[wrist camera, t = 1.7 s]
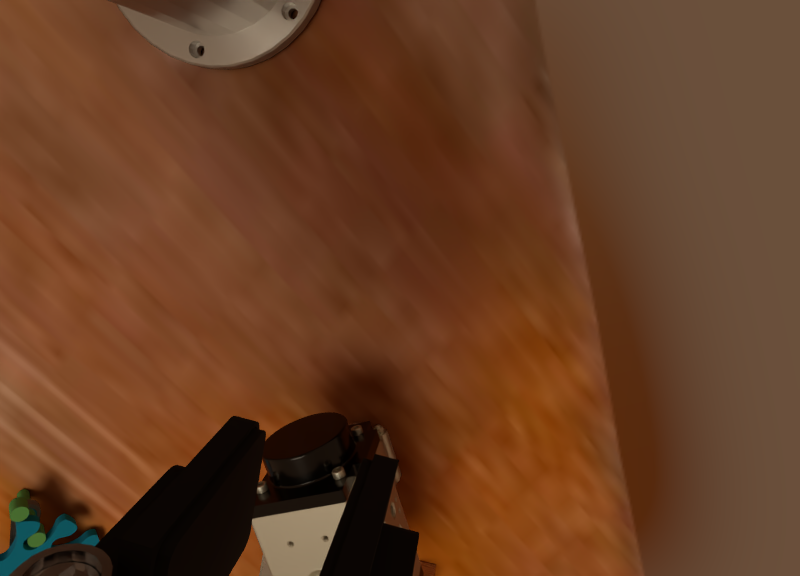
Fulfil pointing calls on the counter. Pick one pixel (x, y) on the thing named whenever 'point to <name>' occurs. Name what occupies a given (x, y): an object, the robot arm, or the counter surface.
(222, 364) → the counter surface
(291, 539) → the pneumatic valve
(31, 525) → the teal lobed piece
